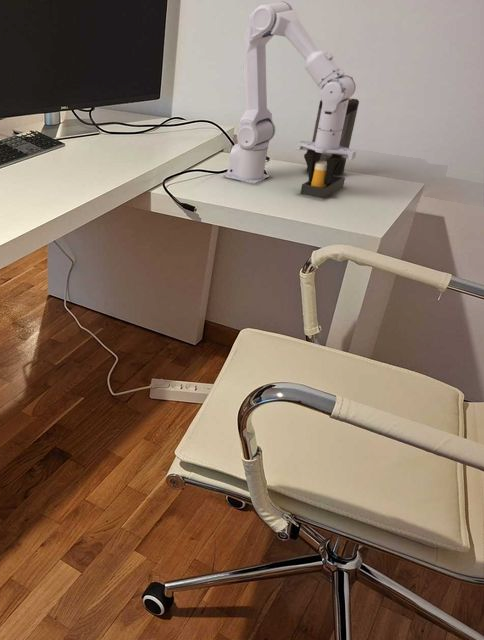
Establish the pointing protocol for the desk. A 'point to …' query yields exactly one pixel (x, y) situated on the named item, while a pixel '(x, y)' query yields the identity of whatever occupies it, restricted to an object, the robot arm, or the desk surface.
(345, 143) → the electronic device
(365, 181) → the desk surface
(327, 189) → the organizer
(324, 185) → the pill bottle
